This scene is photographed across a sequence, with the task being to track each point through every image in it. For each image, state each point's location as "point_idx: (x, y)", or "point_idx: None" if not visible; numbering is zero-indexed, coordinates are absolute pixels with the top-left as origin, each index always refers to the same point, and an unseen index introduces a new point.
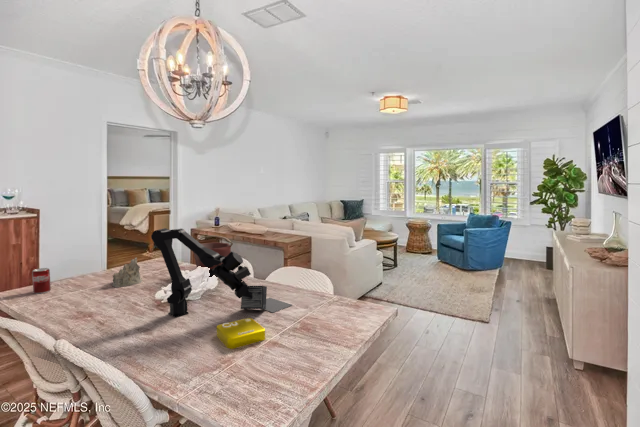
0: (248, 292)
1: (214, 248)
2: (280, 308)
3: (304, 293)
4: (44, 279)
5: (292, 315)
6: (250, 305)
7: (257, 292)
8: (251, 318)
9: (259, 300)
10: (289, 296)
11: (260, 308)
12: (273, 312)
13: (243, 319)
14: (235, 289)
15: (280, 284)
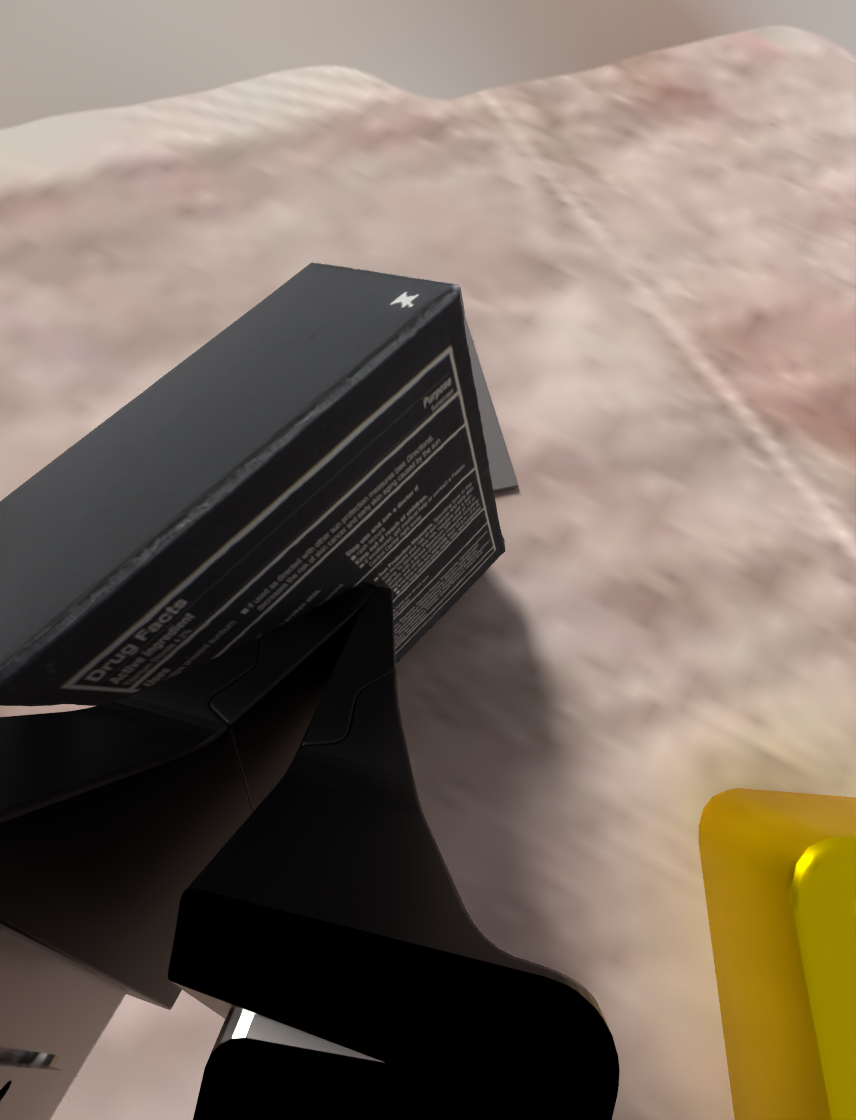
0: (395, 678)
1: None
2: (479, 403)
3: (320, 172)
4: None
5: (638, 403)
6: (408, 633)
7: (412, 488)
8: (841, 854)
9: (467, 531)
10: (298, 254)
11: (492, 563)
12: (514, 478)
13: (845, 981)
14: (56, 1101)
15: (53, 191)
